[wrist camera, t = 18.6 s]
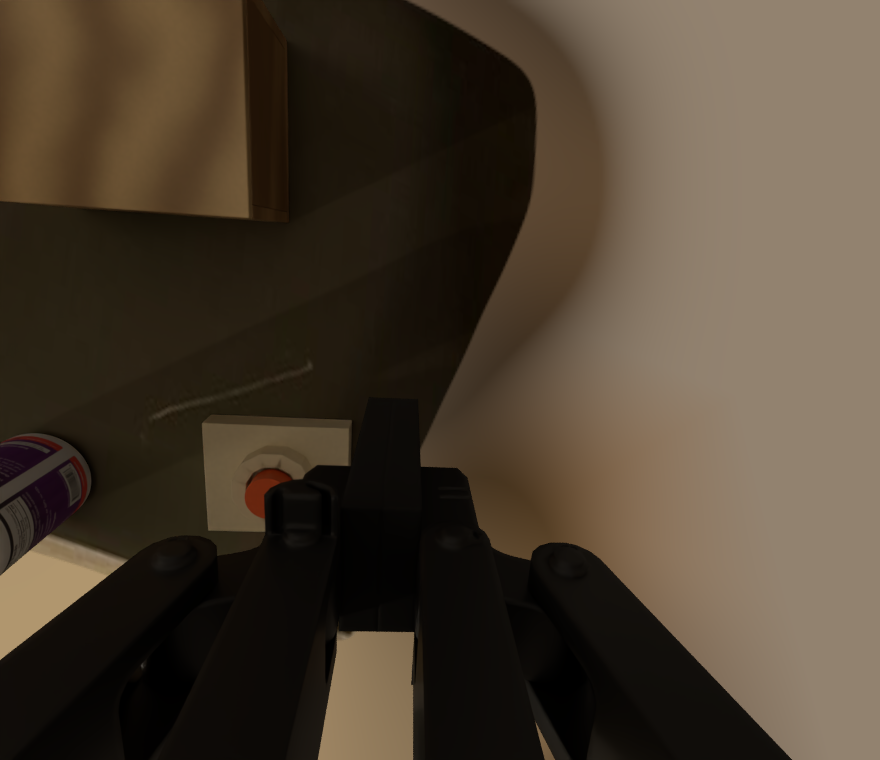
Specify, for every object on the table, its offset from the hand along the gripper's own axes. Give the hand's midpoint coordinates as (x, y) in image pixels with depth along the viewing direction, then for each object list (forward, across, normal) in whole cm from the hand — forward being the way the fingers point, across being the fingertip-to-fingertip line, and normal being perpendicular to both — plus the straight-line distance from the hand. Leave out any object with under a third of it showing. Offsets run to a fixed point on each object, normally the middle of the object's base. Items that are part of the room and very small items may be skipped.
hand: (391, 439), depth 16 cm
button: (+24, -10, -15) cm, 30 cm away
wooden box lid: (+18, -17, +13) cm, 28 cm away
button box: (+28, -10, -15) cm, 33 cm away
